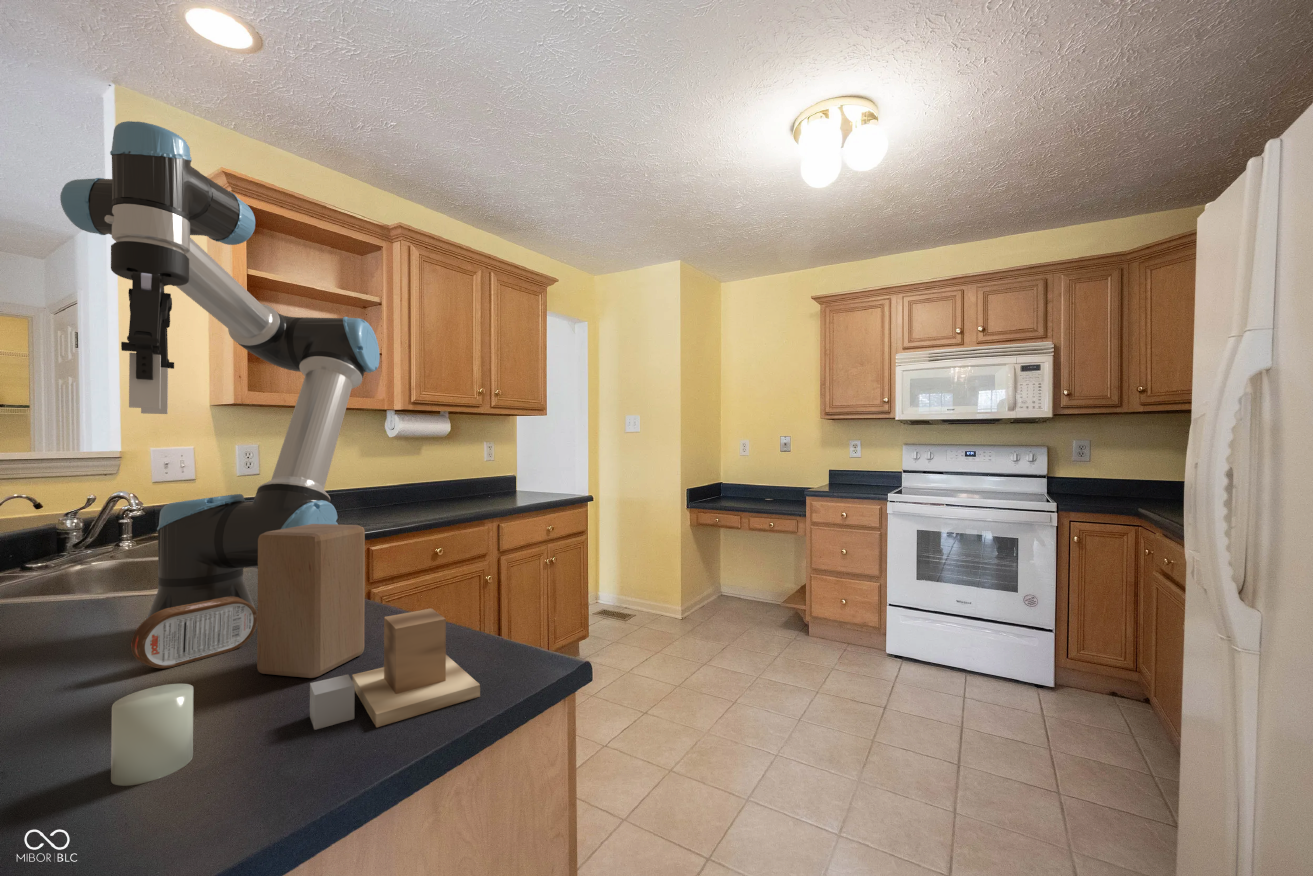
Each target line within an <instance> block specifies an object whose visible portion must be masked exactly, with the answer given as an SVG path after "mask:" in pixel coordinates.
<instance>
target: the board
mask: <svg viewBox="0 0 1313 876" xmlns="http://www.w3.org/2000/svg"><path fill="white" fill-rule="evenodd" d="M351 680H352V682H353V683H354V685H355V694H356V695H357V696H358V698H359V700H360V702H361V703H362V705H363V707H364V710H366V712H367V714H368V716H369V717H370V719H371V721H372V723H373V724H374V726H375V728H380V727H383V726H386V725H390V724H394V723H396V722H399V721H403V720H407V719H410V718H414V717H416V716H420V715H423V714H426V713H429V712H433V711H436V710H440V709H443V708H446V707H449V706H450V707H451V706H452V705H457V704H459V703H460V704H461V703H464V702H466V701H467V702H468V701H470V700H473V699H477V698H480V697H481V684H480V683H479V682H478V681H476V680H475V679H474V678H473V677H472V676H471V675H470V674H469V673H468V672H467V671H465V670H464V669H463V668H462V667H461V666H460V665H459V664H458V663H456V662H455V661H454V660H453V659H452V658H450V656H449V655H447V654H446V681H443V682H439V683H436V684H432V685H428V686H424V687H421V688H417V689H413V690H410V691H406V692H402V693H398V694H395V692H394V691H393V690H392V688H391V687H390V686H389V684H388V683H387V682H386V680H385V679H384V666H383V667H379V668H374V669H372V670H365V671H363V672H358V673H354V674H351Z"/></svg>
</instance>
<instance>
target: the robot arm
mask: <svg viewBox="0 0 1313 876" xmlns="http://www.w3.org/2000/svg"><path fill="white" fill-rule="evenodd" d="M111 143H112V144H111V150H110V151H109V154H110V156H111V178H104V177H96V178H95V177H94V178H81V179H80V178H79V179H77V178H76V179H72V180H70V181H68V182H67V183H65V184H64V186H63V187H62V189H61V192H60V196H59V197H60V198H59V200H60V205H61V208H62V210H63V212H64V214H65V216H66V217H67V218H68V220H69V221H70V222H71V223H72V224H73V225H74V226H75V227H77V228H78V229H80V230H82V231H85V232H87V233H91V234H95V235H96V234H98V235H100V236H106V235H111V238H112V240H114V241H115V242H114V243H112V244H111V245H110V270H111V271H112V273H113V274H115V275H117V276H119V277H120V278H123V279H126V280H129V281H132V284H131V285H132V288H131V287H129V288H128V291H127V293H128V301H129V307H128V308H129V324H128V325H129V326H128V335H127V336H126V340H127V341H121V343H120V344H121V348H120V350H121V351H123V352H128V353H129V356H128V357H129V359H128V360H129V363H128V364H129V367H128V371H129V372H128V373H129V375H128V408H133V409H137V408H138V409H140V414H143V415H144V414H147V415H149V414H150V415H151V414H152V415H168V413H169V411H168V408H169V403H168V402H169V369H171V370H173V369H175V361H170V359H169V354H168V353H169V351H168V349H169V348H168V347H169V346H168V344H169V343H168V328H170V326H171V311H172V309H173V298H172V296H171V295H172V294H171V293H168V292H165V287H166V286H173V287H176V288H177V289H179V290H180V291H181V292H182V293H183V294H185V295H186V296H187V297H189V298H190V299H191V300H192V301H193V302H195V303H196V304H197V305H198V306H199V307H200V308H202V309H203V310H204V311H206V313H208V314H209V315H210V316H212V317H214V318H215V320H217V321H218V322H220V324H221V325H223V326H224V327H225V328H227V331H228V334H229V336H230V338H231V339H232V340H233V341H234V342H235V343H236V344H237V345H239V346H240V347H242V348H243V349H245V351H248V352H249V353H251V354H252V355H254V356H255V357H258V358H260V359H261V360H263V361H265V362H267V363H269V364H271V365H273V366H277V367H278V368H282V369H284V370H288V371H291V372H300V373H302V375H303V376H304V378H303V381H302V385H301V388H300V390H299V394H298V396H297V400H296V403H295V406H294V410H293V413H292V415H291V418H290V420H289V421H290V422H289V424H288V427H287V431H286V433H285V437H284V440H283V443H282V446H281V449H280V452H279V455H278V458H277V461H276V463H275V467H274V469H273V474H272V476H271V480H269V481H266V482H265V483H262V484H260V485H258V488H257V490H256V493H255V496H254V498H253V501H246V499H245V498H244V495H243V494H241V493H235V494H228V495H227V494H226V495H219V496H210V497H206V498H197V499H189V500H184V501H183V500H181V501H175V502H169V503H167V504H165V505H164V506H163V507H162V508H161V509H160V511H159V519H158V520H159V521H158V526H157V528H156V530H157V547H158V548H157V549H158V550H157V552H158V553H157V555H158V556H157V557H158V559H157V561H158V562H157V565H158V569H157V572H158V573H157V575H158V580H157V583H158V586H157V592H156V594H155V597H154V599H153V601H152V604H151V606H150V609H149V611H148V614H147V616H146V619H147V618H148V617H150V616H151V615H153V614H154V613H157V612H159V611H161V610H163V609H167V608H171V607H177V606H182V605H187V604H193V603H198V602H203V601H208V600H213V599H218V598H223V597H238V598H241V599H243V600H245V601H246V602H248V603H250V604H251V605H253V606H254V608H255V609H256V607H255V604H254V602H253V599H252V597H251V594H250V592H249V590H248V587H247V585H246V582H245V578H244V569H246V568H247V569H250V568H251V569H253V568H256V569H258V538H259V536H260V535H261V534H263V533H265V532H268V531H274V530H280V529H286V528H291V527H297V526H303V525H309V524H338V522H337V520H338V518H339V517H338V513H337V510H336V508H335V506H334V505H333V504H332V503H331V497H330V495H329V494H328V493H327V492H326V490H325V486H326V483H327V481H328V475H329V472H330V469H331V465H332V461H333V458H334V454H335V450H336V446H337V443H338V440H339V435H340V431H341V428H342V424H343V421H344V417H345V414H346V410H347V406H348V403H349V400H350V397H351V392H352V389H355V388H358V387H360V386H361V384H362V382H363V379H364V375H365V373H367V374H369V373H370V374H371V373H373V372H376V371H377V369H378V368H379V365H380V360H381V359H380V357H381V356H380V355H381V354H380V347H379V343H378V338H377V337H376V333H375V332H374V329H373V328H372V326H371V325H370V324H369V322H368V321H366V320H365V319H362V318H359V317H348V316H343V317H313V316H312V317H310V316H309V317H308V316H307V317H304V316H303V317H302V316H289V315H284V314H281V313H278V311H277V310H276V309H275V308H273V307H272V306H270V305H268V304H263V303H261V302H259V300H257V299H256V298H255V296H253V295H252V294H251V292H249V291H248V290H247V289H246V288H245V287H244V286H243V285H242V284H241V283H239V281H238V280H236V279H235V278H234V277H233V276H232V275H231V274H230V273H229V272H227V270H226V269H225V268H223V266H221V264H219V263H218V261H216V260H215V259H214V258H213V257H212V255H210V254H208V252H207V251H205V249H203V248H202V247H201V245H199V244H198V243H197V242H196V241H194V239H193V238H192V237H191V236H202V237H208V238H209V239H211V240H212V241H215V242H216V243H221V244H224V245H228V246H236V245H241V244H243V243H245V242H247V241H248V240H249V239H250V238H251V237H252V236H253V233H254V232H255V229H256V217H255V214H254V211H253V210H252V209H251V208H250V206H249V205H248V204H247V203H245V202H244V201H243V200H242V199H240V198H239V197H238V196H237V195H236V194H235V193H233V192H231V190H228V189H227V188H225V187H223V186H221V184H218V183H217V182H215V181H213V180H212V179H210V178H209V177H207V176H206V175H204V174H203V173H201V172H200V171H199V170H198V169H196V168H194V167H193V166H191V163H192V160H193V159H192V157H191V150H190V149H191V148H190V146H189V144H188V143H187V141H186V140H185V138H183V137H182V136H180V135H179V134H177V133H176V132H173V131H171V130H169V129H167V128H165V127H162V126H159V125H156V124H152V123H150V122H149V123H148V122H144V121H132V120H131V121H130V120H127V121H122V122H119V123H118V124H116V125H115V126H114V128H113V137H112V142H111ZM338 525H339V524H338ZM146 619H145V620H146Z"/></svg>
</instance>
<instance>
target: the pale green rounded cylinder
mask: <svg viewBox="0 0 1313 876" xmlns="http://www.w3.org/2000/svg"><path fill="white" fill-rule="evenodd" d="M110 739H111V741H110V743H111V744H110V745H111V746H110V748H111V749H110V750H111V753H110V754H111V755H110V757H111V759H110V761H111V762H110V771H111V772H110V782H111V783H112V784H113V785H115V786H121V787H123V786H126V787H128V786H135V785H141V784H146V783H149V782H153V781H156V780H159V779H162V778H164V777H167V776H169V775H171V774H173V773H176V772H178V771H179V770H181V769H182V768H184V767H186V766H187V765H188V764H189V763H190V762H191V761H192V759H193V758H194V686H193V685H191V684H189V683H170V684H162V685H158V686H153V687H149V688H145V689H142V690H138V691H135V692H133V693H130V694H127V695H125V696H123V697H121V698H118V699H117V700H116V701H115V702H114V703H113V704H112V705H111V738H110Z"/></svg>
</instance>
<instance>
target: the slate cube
mask: <svg viewBox="0 0 1313 876" xmlns="http://www.w3.org/2000/svg"><path fill="white" fill-rule="evenodd" d="M355 694H356V692H355V685H354V683H353V682H352V677H350V675H349V674H348V673H347V674H343V675H339V676H334V677H331V678H330V677H329V678H327V679H323V680H318V681H314V682H310V683H309V718H310V721H311V724H312V727H313V730H314V731H315V730H320V729H323V728H326V727H329V726H333V725H337V724H338V725H339V724H341V723H344V722H348V721H351V720H354V719H355V704H356V703H355V699H356V698H355Z"/></svg>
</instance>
